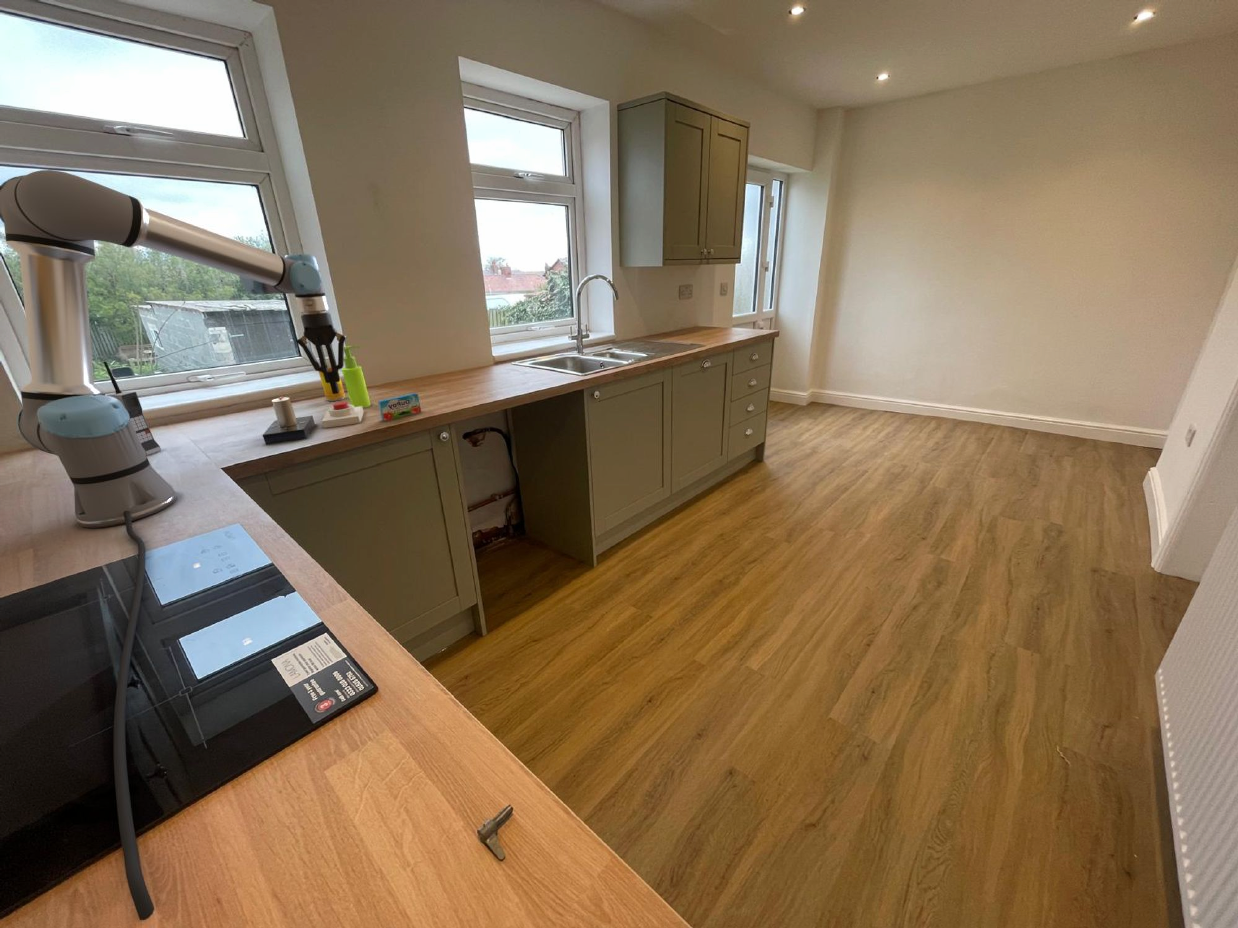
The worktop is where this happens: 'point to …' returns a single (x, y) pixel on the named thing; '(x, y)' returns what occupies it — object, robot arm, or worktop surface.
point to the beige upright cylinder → (284, 411)
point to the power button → (340, 405)
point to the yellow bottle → (327, 386)
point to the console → (289, 431)
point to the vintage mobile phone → (135, 416)
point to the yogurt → (399, 406)
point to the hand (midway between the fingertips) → (336, 392)
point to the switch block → (343, 416)
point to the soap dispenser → (355, 380)
